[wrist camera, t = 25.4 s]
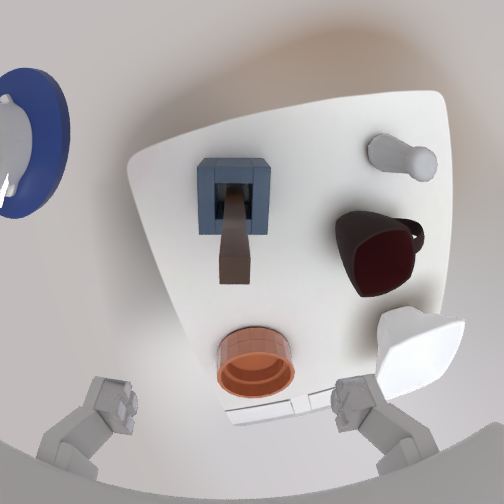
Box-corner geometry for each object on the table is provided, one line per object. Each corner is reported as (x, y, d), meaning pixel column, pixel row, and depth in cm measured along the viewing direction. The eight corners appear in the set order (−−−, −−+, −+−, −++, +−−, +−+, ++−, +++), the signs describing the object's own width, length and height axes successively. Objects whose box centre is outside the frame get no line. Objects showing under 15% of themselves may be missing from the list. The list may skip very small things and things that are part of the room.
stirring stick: (227, 193, 40) (219, 284, 19) (227, 179, 39) (218, 257, 18) (241, 193, 40) (249, 284, 19) (241, 180, 39) (250, 258, 18)
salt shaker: (363, 169, 39) (408, 191, 28) (360, 133, 37) (407, 142, 25) (394, 167, 39) (444, 188, 28) (392, 132, 37) (444, 142, 25)
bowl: (355, 295, 50) (384, 346, 37) (435, 275, 49) (472, 314, 37) (349, 359, 58) (368, 407, 46) (419, 338, 58) (444, 377, 45)
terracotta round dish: (219, 373, 57) (219, 398, 51) (216, 325, 51) (214, 352, 45) (284, 371, 58) (289, 396, 52) (292, 324, 52) (299, 350, 45)
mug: (317, 210, 42) (345, 242, 31) (393, 186, 41) (437, 210, 30) (330, 263, 46) (355, 305, 36) (399, 238, 45) (436, 272, 34)
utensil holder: (205, 213, 41) (199, 234, 34) (204, 158, 37) (196, 166, 30) (261, 214, 42) (267, 235, 35) (264, 158, 38) (270, 167, 31)
